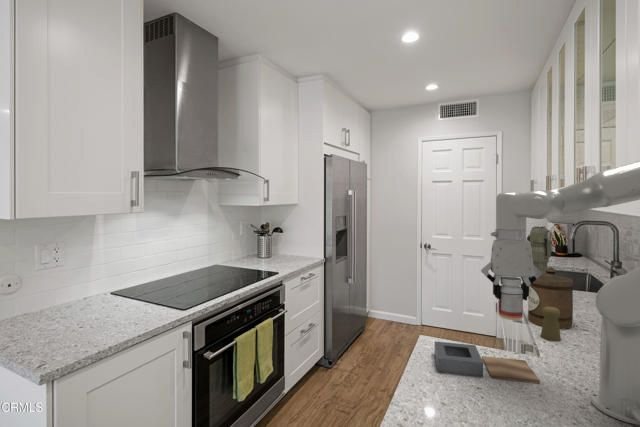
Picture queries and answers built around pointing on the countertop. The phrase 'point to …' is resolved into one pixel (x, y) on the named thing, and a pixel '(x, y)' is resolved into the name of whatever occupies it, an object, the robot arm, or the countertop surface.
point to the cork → (551, 324)
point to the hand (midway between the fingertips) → (510, 297)
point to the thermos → (540, 247)
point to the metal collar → (458, 359)
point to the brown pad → (509, 369)
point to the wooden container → (551, 298)
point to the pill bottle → (511, 298)
